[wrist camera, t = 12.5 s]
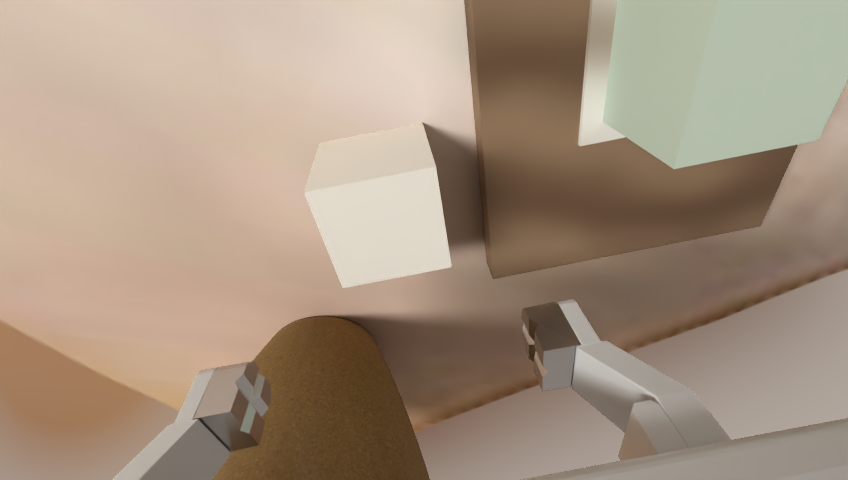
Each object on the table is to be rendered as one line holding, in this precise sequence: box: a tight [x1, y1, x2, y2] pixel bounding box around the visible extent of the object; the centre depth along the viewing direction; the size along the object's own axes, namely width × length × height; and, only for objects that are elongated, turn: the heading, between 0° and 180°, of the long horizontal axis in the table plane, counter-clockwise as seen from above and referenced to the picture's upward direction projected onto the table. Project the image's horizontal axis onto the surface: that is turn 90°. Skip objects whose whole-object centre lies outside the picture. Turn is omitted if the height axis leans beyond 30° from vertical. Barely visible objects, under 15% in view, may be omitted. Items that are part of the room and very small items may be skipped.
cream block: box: [304, 123, 452, 288], centre depth 17 cm, size 5×5×5 cm
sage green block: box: [603, 0, 848, 169], centre depth 13 cm, size 5×5×5 cm
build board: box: [464, 0, 797, 279], centre depth 16 cm, size 22×16×2 cm
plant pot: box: [212, 316, 430, 480], centre depth 20 cm, size 15×15×16 cm
